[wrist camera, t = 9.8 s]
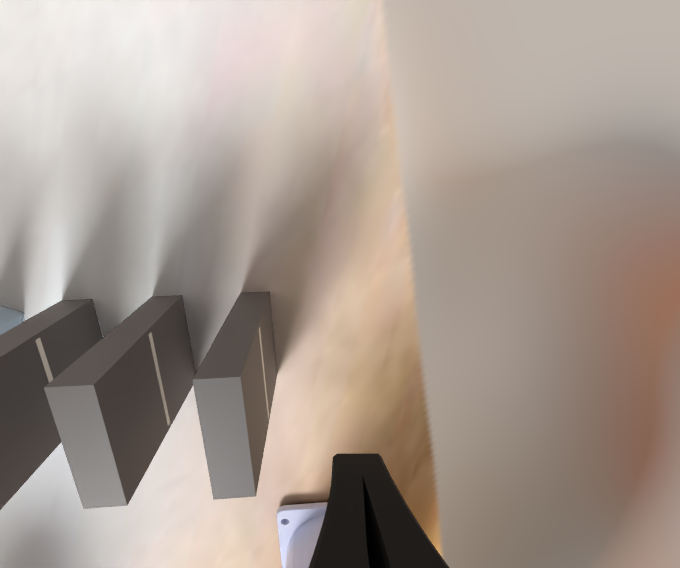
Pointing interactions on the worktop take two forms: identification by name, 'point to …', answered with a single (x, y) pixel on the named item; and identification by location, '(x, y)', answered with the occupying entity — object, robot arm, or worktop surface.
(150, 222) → the worktop surface
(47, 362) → the tile
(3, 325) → the tile
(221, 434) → the tile
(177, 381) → the tile
